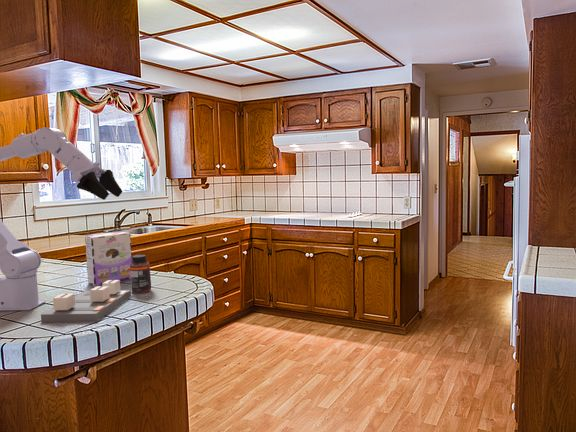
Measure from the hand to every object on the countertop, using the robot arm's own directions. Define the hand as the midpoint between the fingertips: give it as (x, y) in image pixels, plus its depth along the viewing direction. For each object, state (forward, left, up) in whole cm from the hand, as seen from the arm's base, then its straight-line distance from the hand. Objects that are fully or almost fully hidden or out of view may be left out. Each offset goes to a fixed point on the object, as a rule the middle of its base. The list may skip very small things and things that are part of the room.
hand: (113, 195), depth 124 cm
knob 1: (-5, -2, -28) cm, 29 cm away
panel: (-8, -2, -31) cm, 32 cm away
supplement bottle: (0, +16, -31) cm, 35 cm away
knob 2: (-5, +6, -28) cm, 29 cm away
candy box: (-16, +31, -31) cm, 46 cm away
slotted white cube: (-11, -9, -28) cm, 32 cm away
